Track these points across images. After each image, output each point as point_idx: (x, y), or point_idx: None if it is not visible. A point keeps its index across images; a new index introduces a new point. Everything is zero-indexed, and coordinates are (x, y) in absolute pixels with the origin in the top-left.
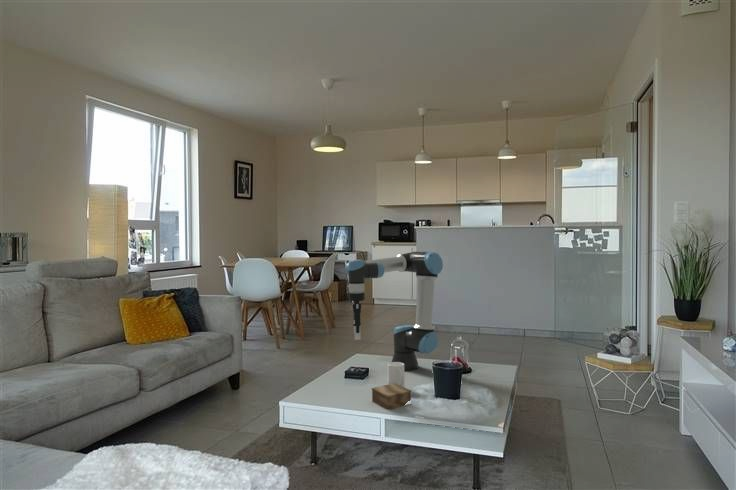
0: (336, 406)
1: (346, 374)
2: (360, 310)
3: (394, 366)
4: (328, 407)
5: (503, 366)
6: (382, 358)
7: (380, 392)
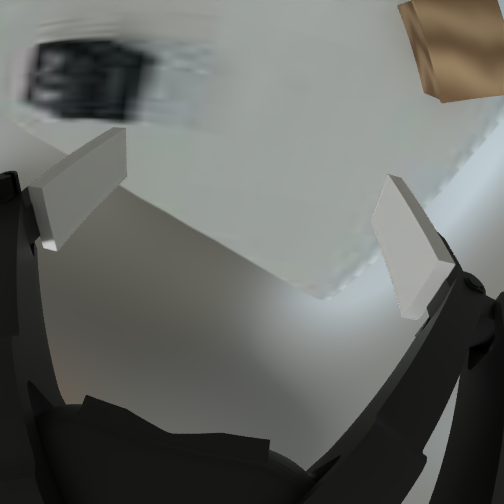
0: None
1: (94, 114)
2: (406, 491)
3: None
4: None
5: None
6: None
7: (487, 96)
